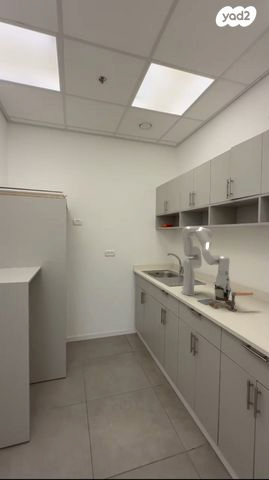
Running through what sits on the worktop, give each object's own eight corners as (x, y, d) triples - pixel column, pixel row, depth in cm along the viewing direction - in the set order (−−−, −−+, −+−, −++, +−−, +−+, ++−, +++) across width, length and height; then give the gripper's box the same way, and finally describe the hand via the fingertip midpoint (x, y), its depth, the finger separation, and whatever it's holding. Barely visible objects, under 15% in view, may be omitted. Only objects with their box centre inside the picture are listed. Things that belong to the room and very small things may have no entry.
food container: (228, 299, 177) (229, 286, 176) (230, 301, 171) (231, 288, 170) (211, 297, 178) (212, 285, 178) (213, 300, 172) (214, 287, 172)
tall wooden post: (250, 294, 167) (250, 291, 167) (253, 295, 164) (253, 292, 164) (230, 295, 164) (230, 291, 164) (232, 296, 162) (232, 292, 161)
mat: (196, 300, 183) (196, 300, 183) (211, 299, 188) (211, 298, 188) (205, 305, 173) (205, 304, 173) (220, 303, 179) (220, 302, 179)
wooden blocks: (208, 305, 173) (208, 291, 173) (227, 302, 181) (227, 289, 180) (224, 312, 158) (225, 298, 158) (244, 309, 166) (245, 295, 165)
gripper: (235, 275, 166) (234, 298, 167) (218, 270, 182) (217, 291, 183) (228, 275, 163) (226, 299, 164) (211, 270, 179) (209, 292, 180)
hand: (221, 295), depth 174 cm, fingers closed on food container, 7 cm apart
